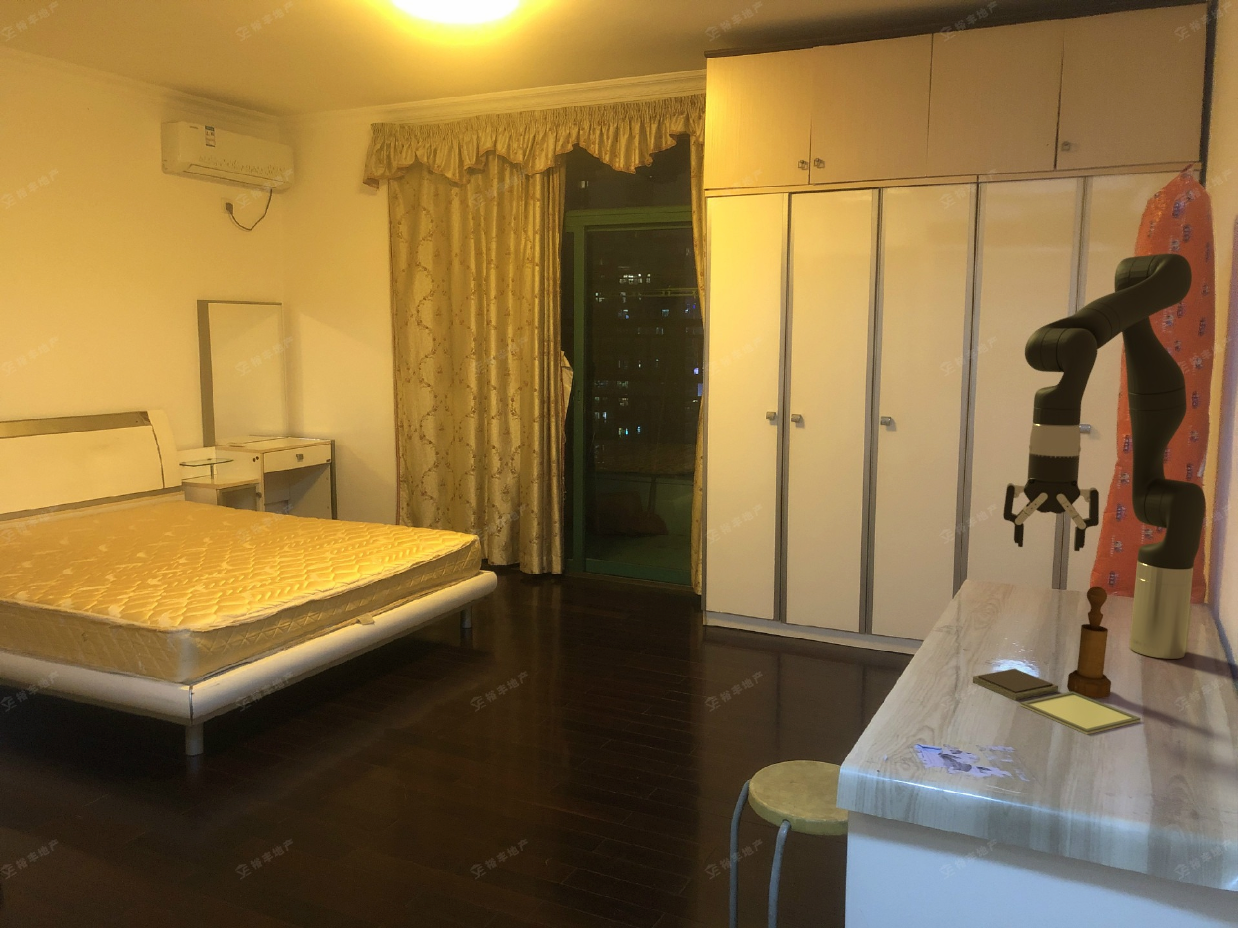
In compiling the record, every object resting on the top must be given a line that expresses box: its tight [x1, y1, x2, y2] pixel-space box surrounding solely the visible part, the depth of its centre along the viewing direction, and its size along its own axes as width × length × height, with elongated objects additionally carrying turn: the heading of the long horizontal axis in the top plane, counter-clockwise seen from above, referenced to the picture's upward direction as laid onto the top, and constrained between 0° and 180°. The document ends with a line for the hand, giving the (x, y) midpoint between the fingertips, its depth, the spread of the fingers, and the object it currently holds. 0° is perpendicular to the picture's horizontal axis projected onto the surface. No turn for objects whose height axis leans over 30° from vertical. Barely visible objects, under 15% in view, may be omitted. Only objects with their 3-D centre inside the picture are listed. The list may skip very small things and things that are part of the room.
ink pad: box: [972, 668, 1059, 701], centre depth 159 cm, size 10×9×1 cm
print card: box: [1019, 691, 1142, 735], centre depth 148 cm, size 12×12×1 cm
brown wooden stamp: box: [1067, 586, 1112, 699], centre depth 157 cm, size 7×6×18 cm
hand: (1047, 548), depth 156 cm, fingers open, 8 cm apart
